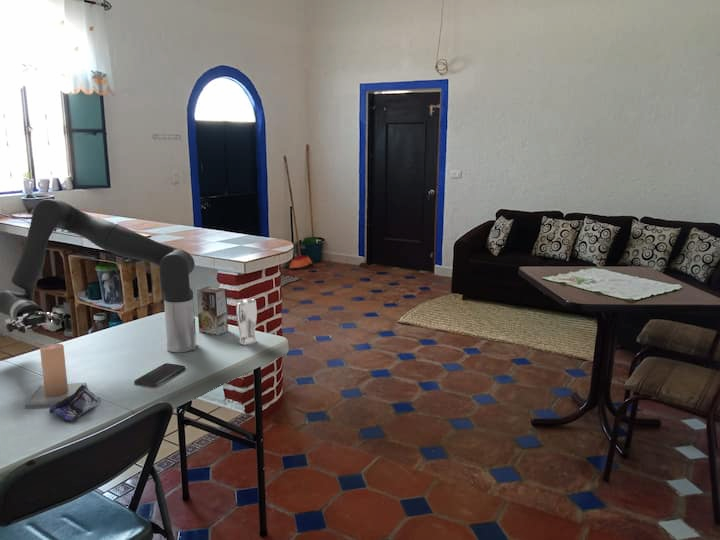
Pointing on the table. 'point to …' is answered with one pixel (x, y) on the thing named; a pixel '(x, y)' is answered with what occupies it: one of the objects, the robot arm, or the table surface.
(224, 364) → the table surface
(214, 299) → the coffee box
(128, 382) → the table surface
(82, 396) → the snack package
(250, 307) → the beer glass
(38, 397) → the coaster
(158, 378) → the phone
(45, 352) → the peach tall cylinder
